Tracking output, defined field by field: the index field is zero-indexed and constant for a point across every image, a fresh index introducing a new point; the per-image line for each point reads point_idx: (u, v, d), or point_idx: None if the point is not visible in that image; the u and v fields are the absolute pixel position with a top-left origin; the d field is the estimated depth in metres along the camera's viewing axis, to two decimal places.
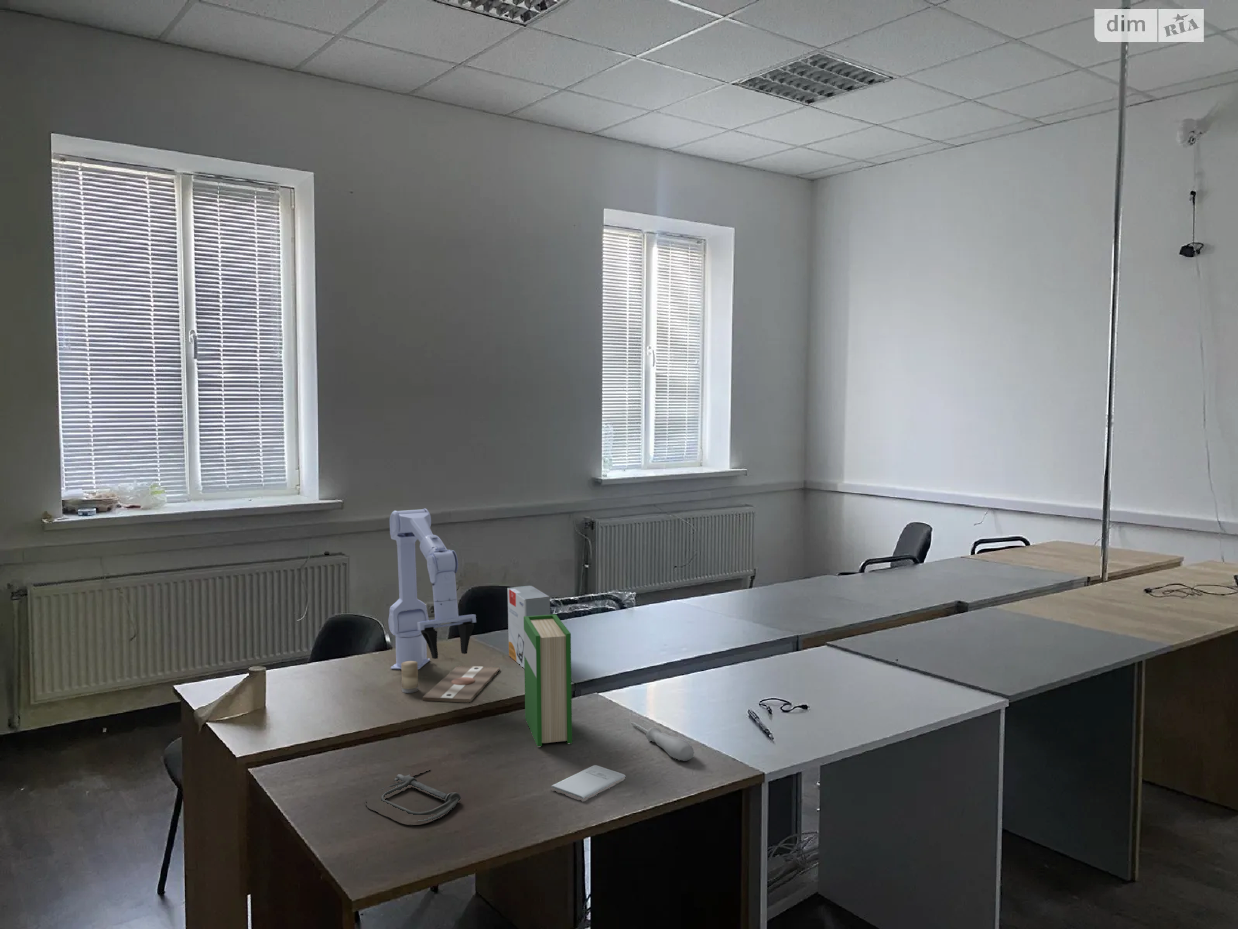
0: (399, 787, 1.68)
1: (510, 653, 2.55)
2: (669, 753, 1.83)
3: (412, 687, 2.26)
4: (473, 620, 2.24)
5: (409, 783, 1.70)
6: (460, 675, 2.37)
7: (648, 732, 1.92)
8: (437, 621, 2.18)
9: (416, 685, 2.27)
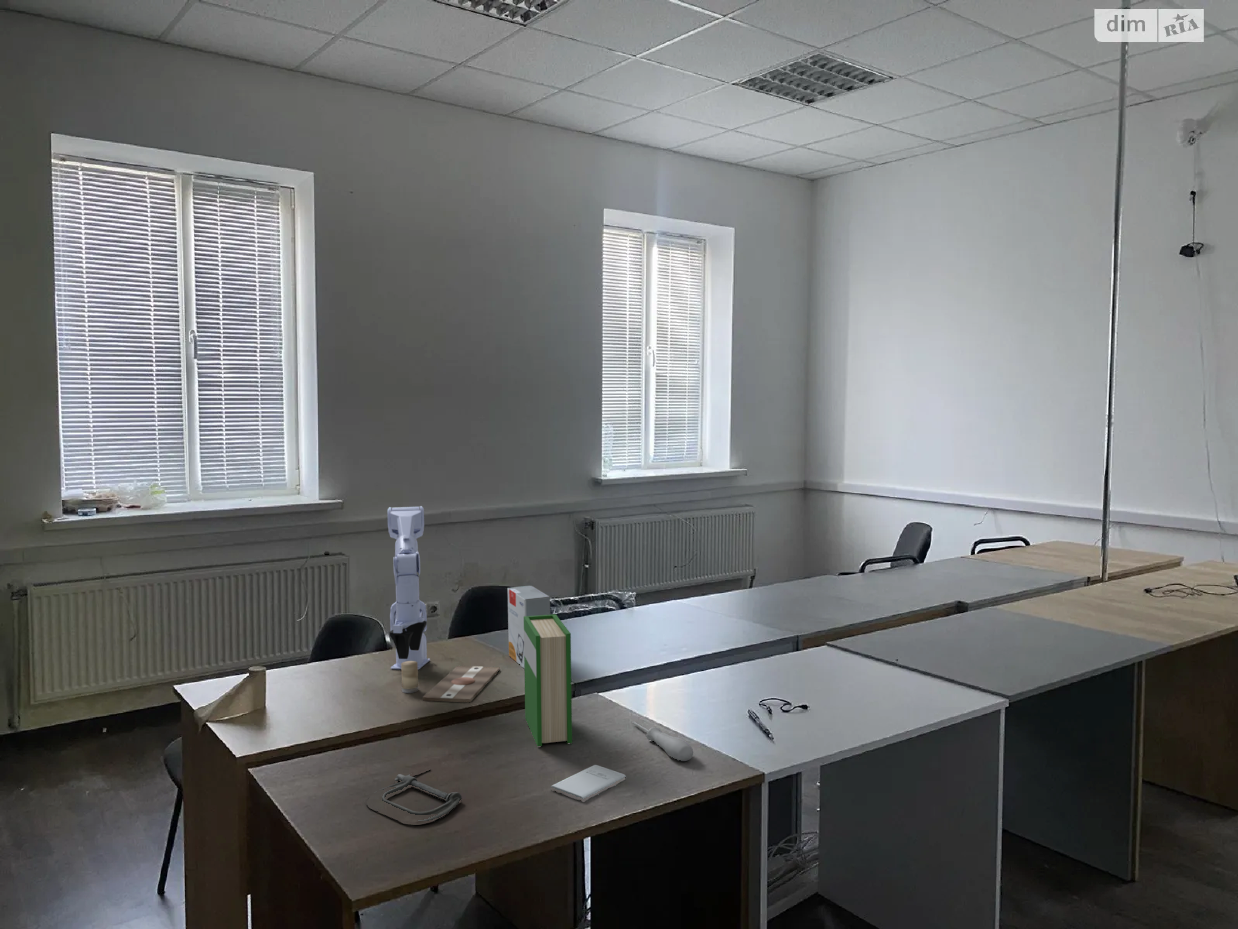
0: (400, 787, 1.68)
1: (510, 653, 2.55)
2: (668, 753, 1.83)
3: (412, 687, 2.26)
4: (421, 617, 2.33)
5: (410, 783, 1.70)
6: (460, 675, 2.37)
7: (648, 732, 1.92)
8: (411, 622, 2.23)
9: (416, 685, 2.27)
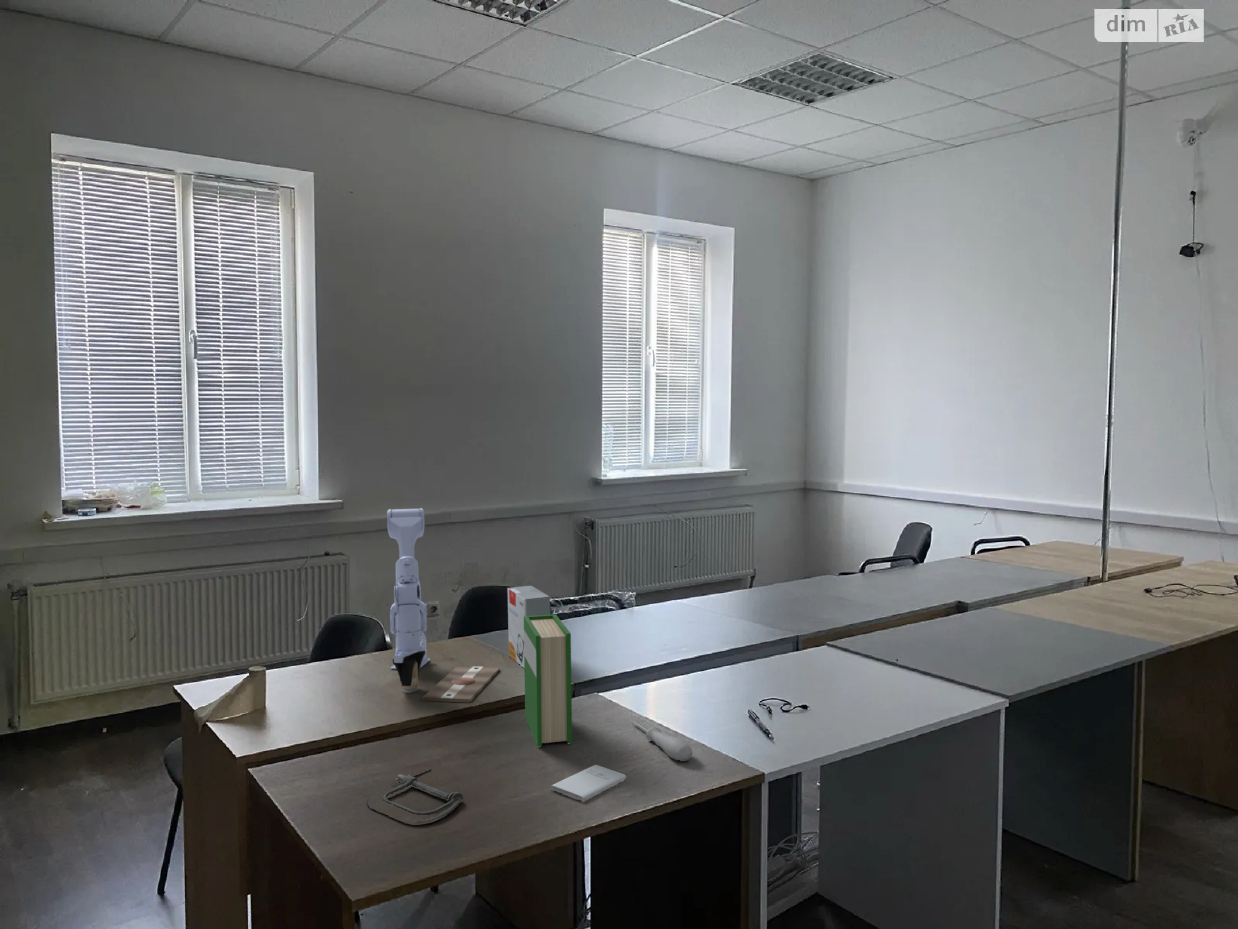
0: (400, 787, 1.68)
1: (510, 653, 2.55)
2: (668, 753, 1.83)
3: (412, 687, 2.26)
4: (422, 645, 2.33)
5: (410, 783, 1.70)
6: (460, 675, 2.37)
7: (648, 732, 1.92)
8: (411, 652, 2.23)
9: (416, 685, 2.27)
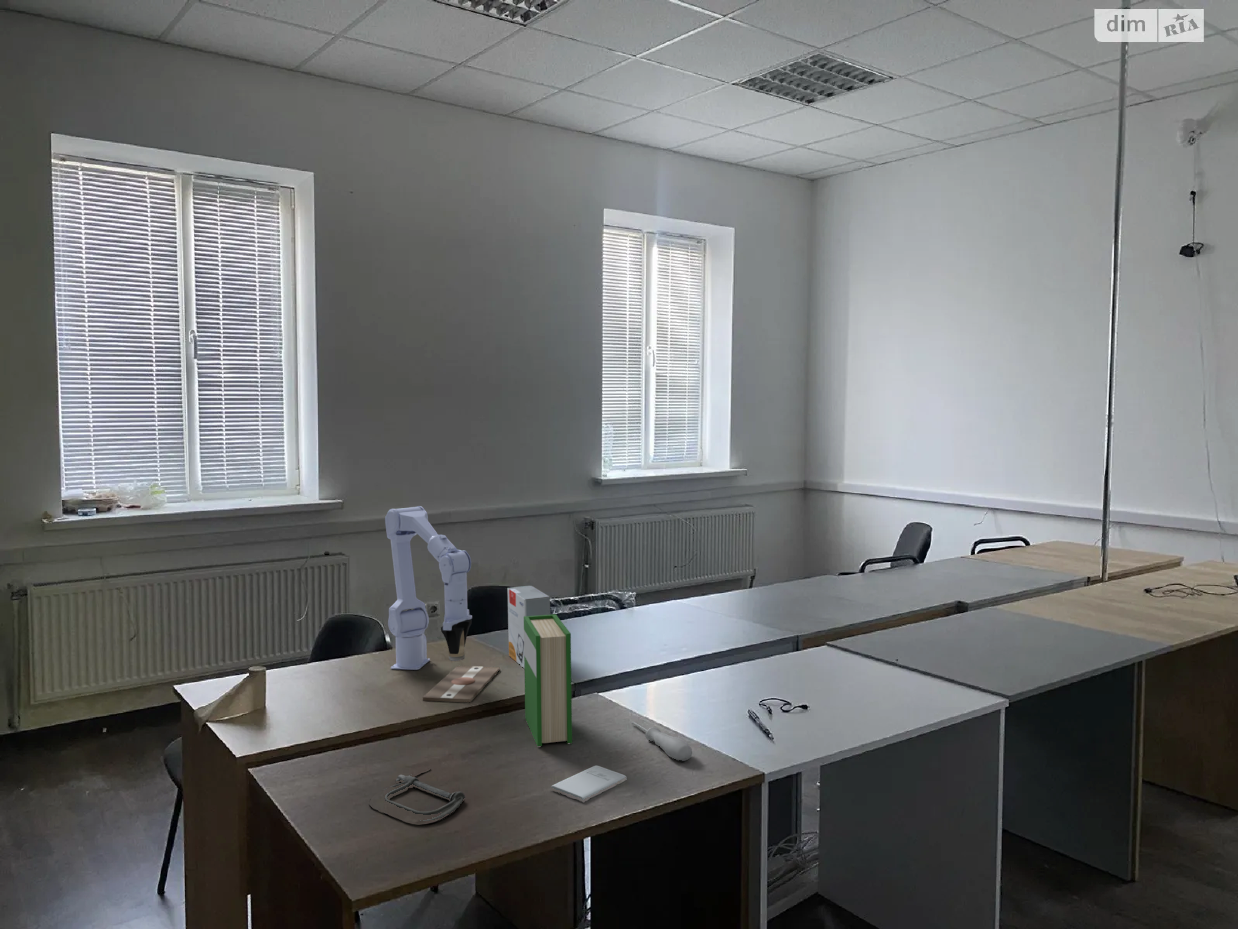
0: (402, 787, 1.68)
1: (510, 653, 2.55)
2: (667, 753, 1.83)
3: (460, 655, 2.29)
4: (468, 615, 2.36)
5: (411, 783, 1.70)
6: (460, 675, 2.37)
7: (647, 732, 1.92)
8: (459, 620, 2.26)
9: (463, 653, 2.30)
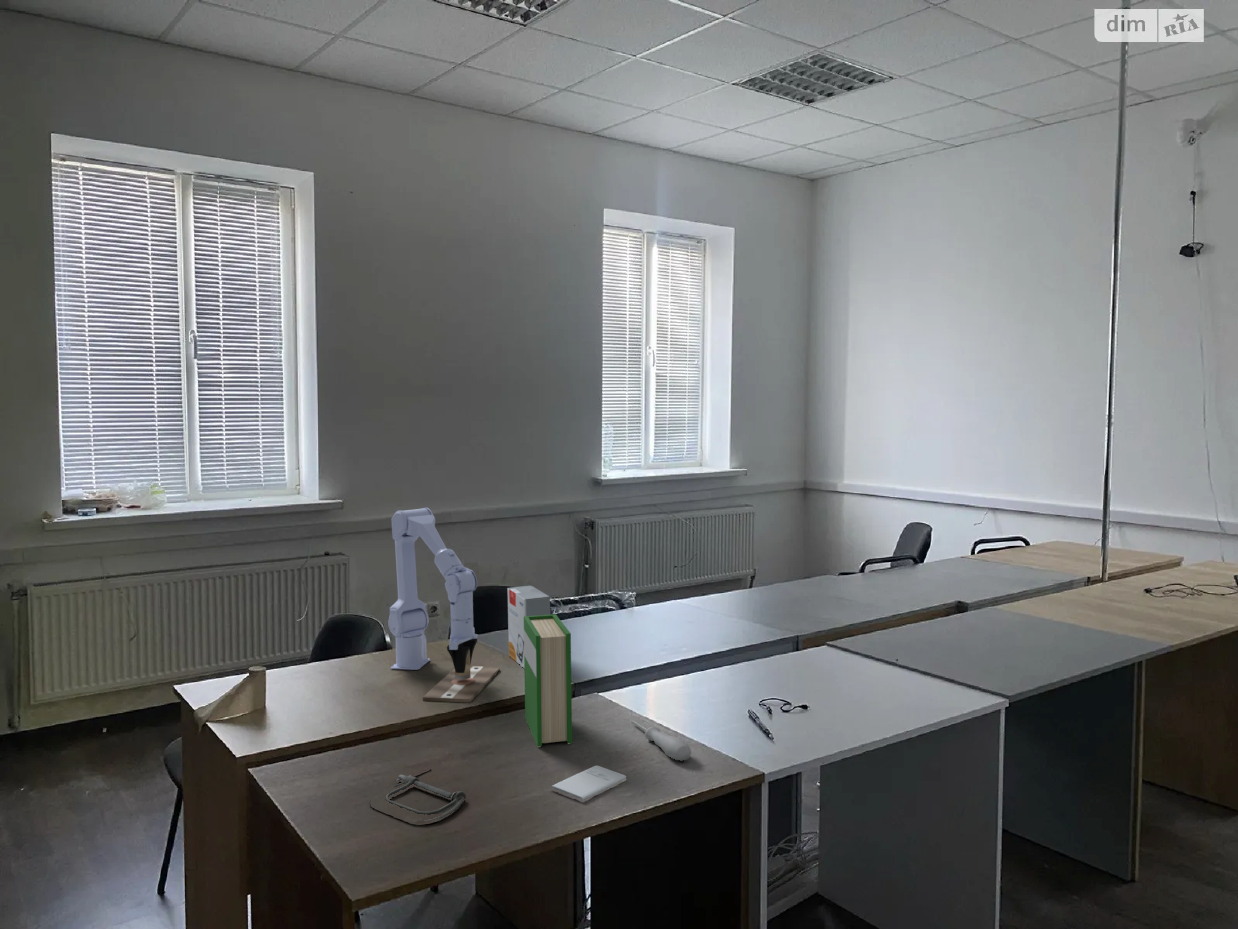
0: (402, 787, 1.68)
1: (510, 653, 2.55)
2: (666, 753, 1.83)
3: (466, 673, 2.30)
4: (473, 633, 2.37)
5: (412, 783, 1.70)
6: None
7: (647, 731, 1.92)
8: (465, 639, 2.27)
9: (469, 672, 2.31)
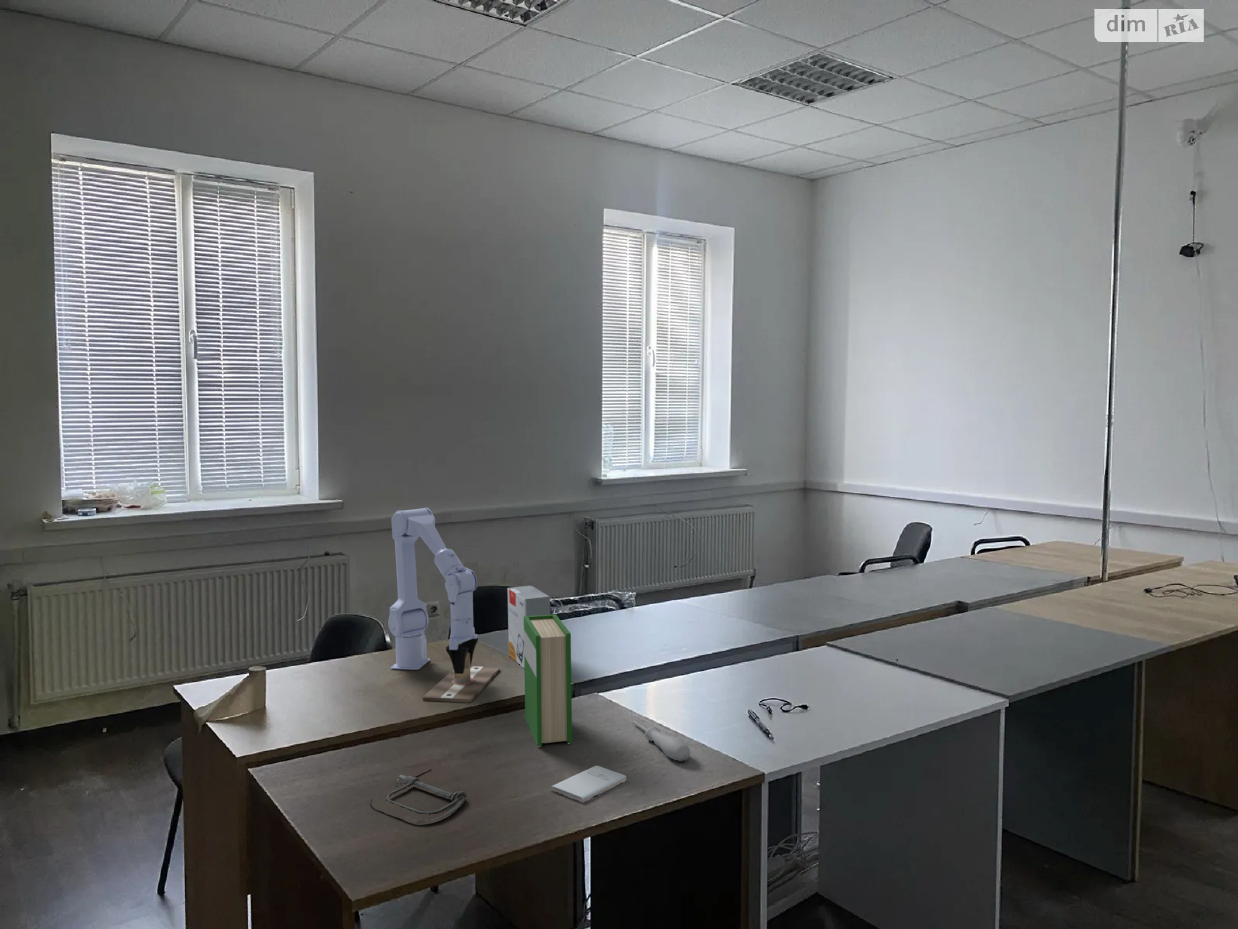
0: (403, 788, 1.68)
1: (510, 653, 2.55)
2: (665, 753, 1.83)
3: (466, 677, 2.30)
4: (473, 633, 2.37)
5: (412, 783, 1.70)
6: None
7: (647, 731, 1.92)
8: (465, 639, 2.27)
9: (469, 675, 2.31)
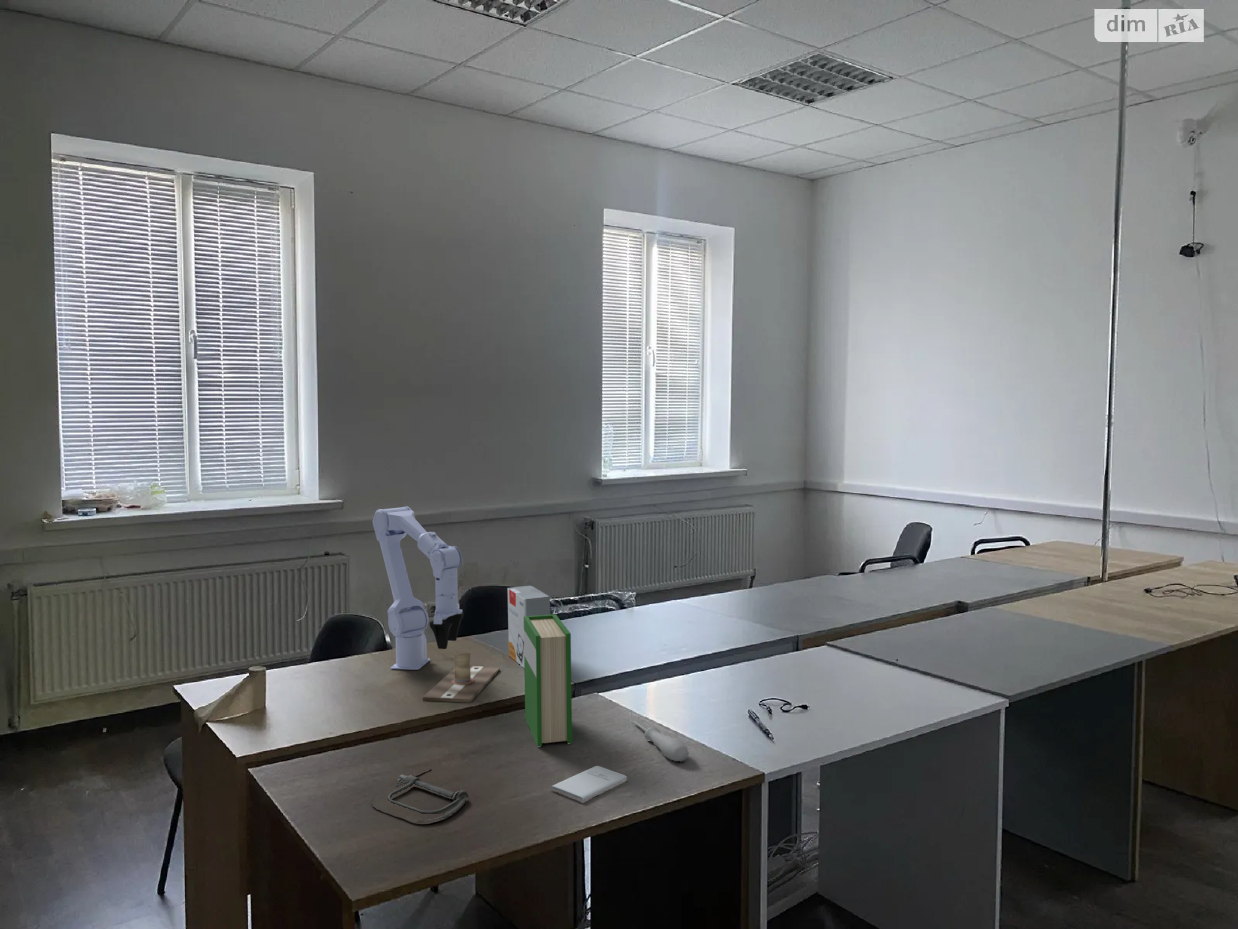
0: (404, 787, 1.68)
1: (510, 653, 2.55)
2: (664, 753, 1.83)
3: (466, 677, 2.30)
4: None
5: (413, 783, 1.70)
6: None
7: (646, 732, 1.92)
8: (450, 614, 2.32)
9: (469, 675, 2.31)
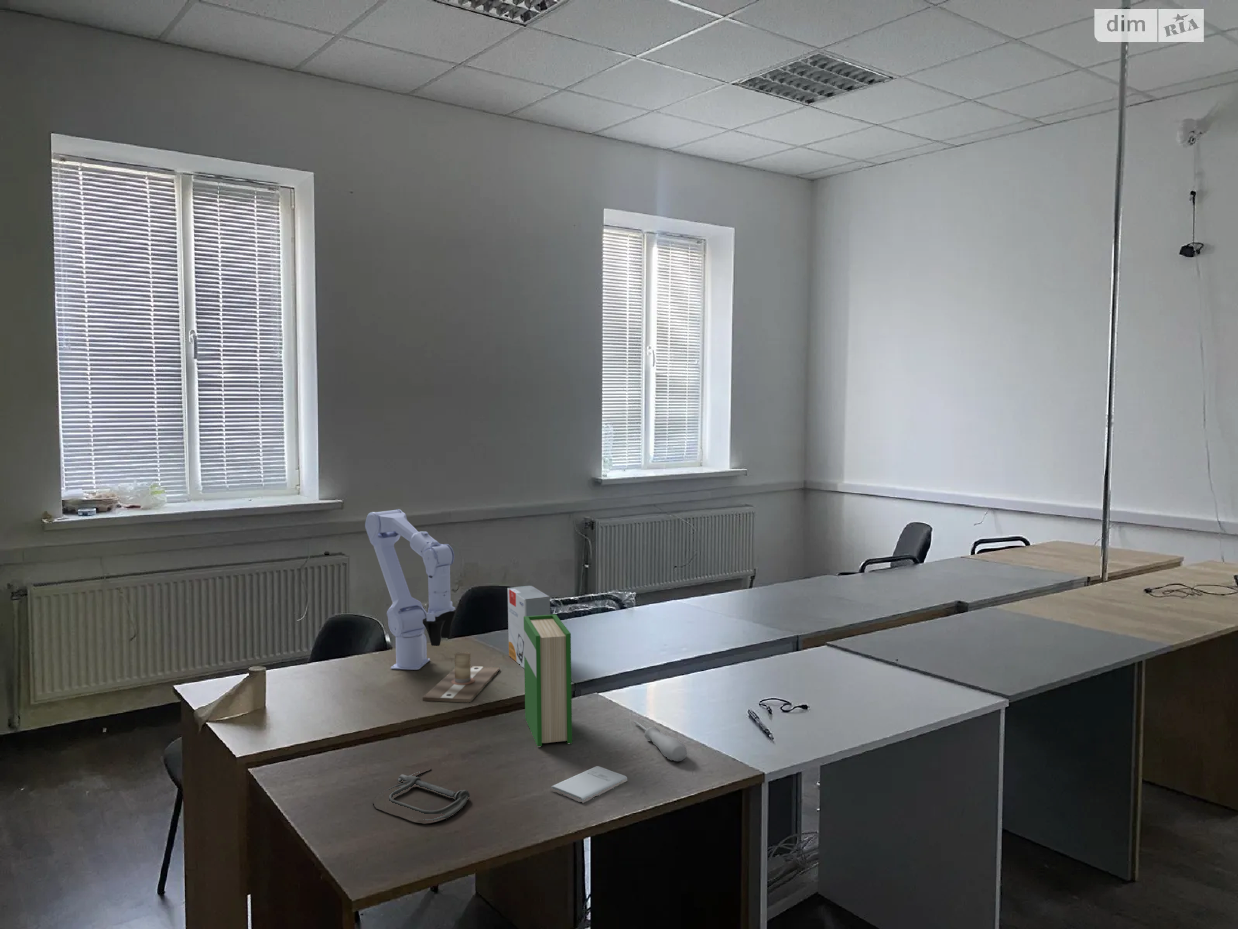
0: (405, 787, 1.68)
1: (510, 653, 2.55)
2: (662, 753, 1.83)
3: (466, 677, 2.30)
4: (451, 606, 2.44)
5: (414, 783, 1.70)
6: None
7: (646, 731, 1.92)
8: (443, 611, 2.34)
9: (469, 675, 2.31)
